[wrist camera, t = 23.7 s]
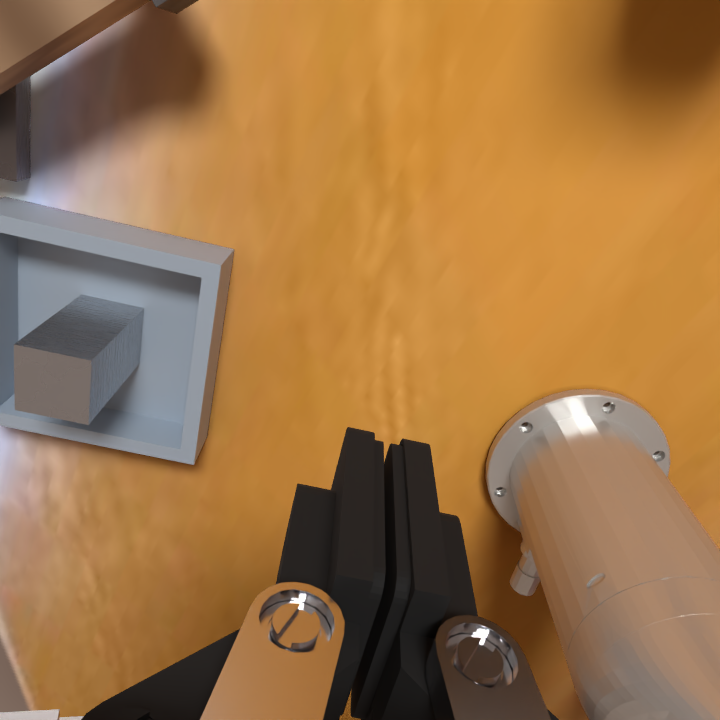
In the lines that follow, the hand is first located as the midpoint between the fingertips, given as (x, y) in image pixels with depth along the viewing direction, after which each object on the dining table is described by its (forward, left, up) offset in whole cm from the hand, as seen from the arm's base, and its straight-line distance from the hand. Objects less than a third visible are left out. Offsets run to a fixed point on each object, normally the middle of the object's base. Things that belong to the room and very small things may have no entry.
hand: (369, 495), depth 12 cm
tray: (-11, +15, -27) cm, 33 cm away
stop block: (-11, +15, -27) cm, 32 cm away
